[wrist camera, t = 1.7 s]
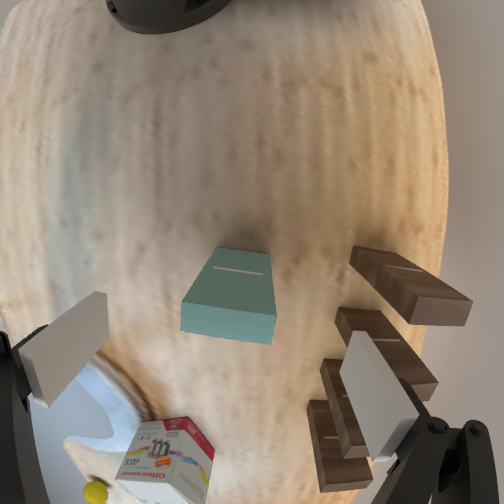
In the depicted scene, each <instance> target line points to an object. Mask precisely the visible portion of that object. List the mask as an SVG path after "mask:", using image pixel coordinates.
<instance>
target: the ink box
mask: <svg viewBox="0 0 504 504" xmlns="http://www.w3.org/2000/svg"><path fill="white" fill-rule="evenodd" d="M214 452H215V451H214V448H213V447H212V446H211V444H210V443H209V442H208V441H207V439H206V438H205V437H204V436H203V434H202V433H201V432H200V431H199V429H198V428H197V427H196V425H195V424H194V423H193V422H192V421H191V419H190V418H189V417H183V418H175V419H168V420H159V421H149V422H141V423H140V425H139V428H138V430H137V432H136V434H135V436H134V438H133V440H132V443H131V445H130V447H129V449H128V451H127V453H126V456H125V458H124V460H123V462H122V464H121V466H120V468H119V471H118V473H117V475H116V477H115V480H116V481H117V482H118V483H119V484H120V485H121V486H122V487H123V488H124V489H126V490H127V491H128V492H129V493H130V494H132V495H133V496H134V497H135V498H137V499H138V500H139V501H140V502H141V503H143V504H205V501H206V496H207V490H208V485H209V480H210V475H211V469H212V464H213V458H214Z"/></svg>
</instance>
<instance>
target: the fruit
mask: <svg viewBox="0 0 504 504" xmlns="http://www.w3.org/2000/svg"><path fill="white" fill-rule="evenodd" d="M84 497H85V499H86V500H87V501H88V502H89V504H103V503H105V502H106V501H107V499H108V491H107V489H106V487H105V486H104V484H103V482H101V481H91V482H89V483H87V484H86V486H85V487H84Z"/></svg>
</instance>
